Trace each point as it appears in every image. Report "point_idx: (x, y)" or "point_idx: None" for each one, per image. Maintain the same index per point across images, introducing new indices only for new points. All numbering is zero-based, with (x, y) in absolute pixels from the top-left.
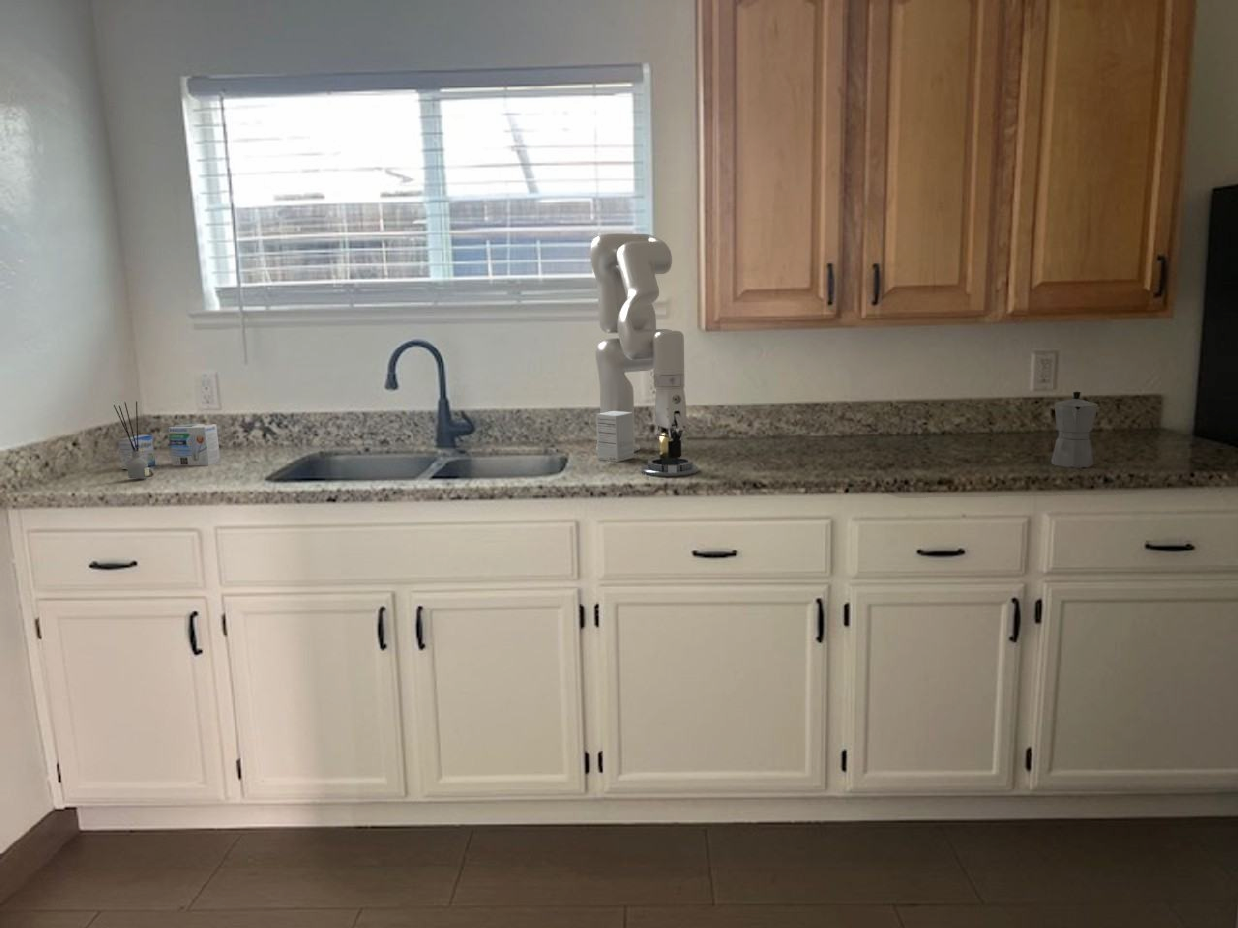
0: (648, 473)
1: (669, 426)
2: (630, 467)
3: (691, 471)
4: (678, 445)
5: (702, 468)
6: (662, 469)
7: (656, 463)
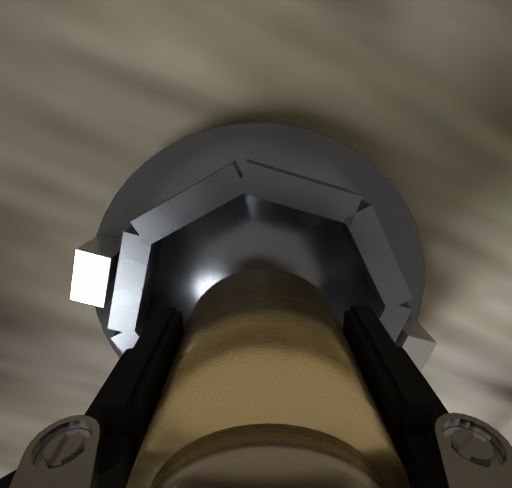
0: None
1: None
2: (74, 409)
3: (415, 225)
4: (436, 399)
5: (237, 63)
6: None
7: None
